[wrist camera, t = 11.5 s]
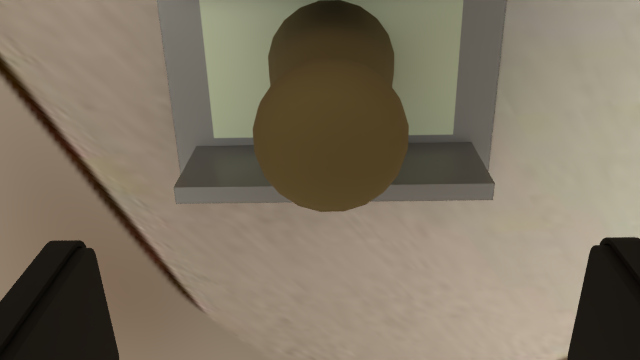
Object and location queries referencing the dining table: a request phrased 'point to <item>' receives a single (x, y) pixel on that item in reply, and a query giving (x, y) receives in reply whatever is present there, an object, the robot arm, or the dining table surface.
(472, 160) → the rack
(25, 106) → the dining table surface
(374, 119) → the brown gourd-shaped form
